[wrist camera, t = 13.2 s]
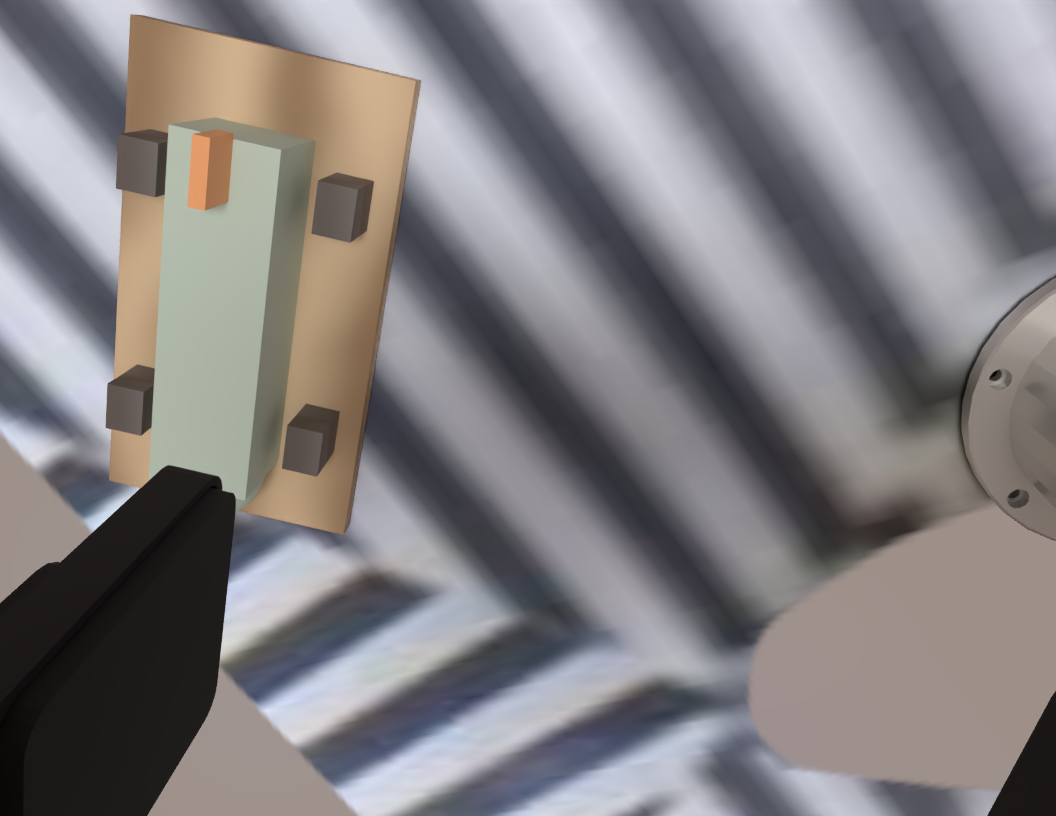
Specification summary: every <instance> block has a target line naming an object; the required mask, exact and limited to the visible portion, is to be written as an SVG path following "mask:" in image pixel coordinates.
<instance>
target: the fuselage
mask: <svg viewBox="0 0 1056 816" xmlns="http://www.w3.org/2000/svg"><path fill="white" fill-rule="evenodd" d="M315 142H316V140H313V139H309V138H304V137H300V136H295V135H291V134H287V133H282V132H278V131H273V130H269V129H264V128H260V127H256V126H251V125H247V124H242V123H238V122H233V121H229V120H225V119H220V118H216V117H214V118H208V119H201V120H195V121H188V122H182V123H175V124H169V128H168V145H167V163H166V180H165V198H164V216H163V233H162V251H161V269H160V286H159V304H158V322H157V339H156V357H155V375H154V392H153V410H152V428H151V445H150V463H149V479H151V478H152V477H153V476H154V475H156V474H157V473H158V472H159V471H160V470H161V469H162V468H164V467H165V466H167V465H172V466H176V467H181V468H185V469H189V470H194V471H198V472H202V473H207V474H211V475H215V476H219V477H220V479H221V481H222V487H223V488H222V491H227V492H231V493H234V495H235V497H236V510H235V512H236V511H238V510H240V509H242V508H243V507H245V506H246V505H248V504H249V503H250V502H251V501H252V500H253V499H254V498H255V497H256V495H257V494H258V492H259V491H260V489H261V487H262V484H263V481H264V478H265V476H266V474H267V473H268V472H269V471H270V469H271V468H272V467H273V466H274V465H275V463H276V462H277V461H278V460H279V452H280V443H281V434H282V426H283V417H284V409H285V400H286V391H287V383H288V374H289V366H290V357H291V348H292V340H293V331H294V323H295V314H296V305H297V297H298V288H299V279H300V271H301V262H302V254H303V245H304V236H305V228H306V219H307V211H308V202H309V193H310V185H311V176H312V168H313V159H314V150H315Z"/></svg>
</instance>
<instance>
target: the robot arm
mask: <svg viewBox="0 0 1056 816" xmlns="http://www.w3.org/2000/svg"><path fill="white" fill-rule="evenodd" d="M996 370H997V374H996V375H995V376H994V377H992V378H989V377H990V376H991V374H992V373H993V372H994V371H996ZM961 430H962V436H963V442H964V448H965V454H966V456H967V458H968V461H969V463H970V466H971V468H972V470H973V473H974V475H975V477H976V479H977V480H978V481H979V483H980V484H981V485H982V487H983V488H984V490H985V491H986V492H987V494H988V495H989V496H990V498H991V499H992V500H993V501H994V502H995V503H996V504H997V505H998V506H999V508H1000V509H1001V510H1002V511H1003V512H1004V513H1006V514H1007V515H1008V516H1010V517H1011V518H1013V519H1014V520H1015V521H1017V522H1018V523H1020V524H1021V525H1022V526H1024V527H1025V528H1027V529H1028V530H1031V531H1033V532H1035V533H1038V534H1040V535H1042V536H1045V537H1047V538H1049V539H1051V540H1055V541H1056V278H1054V279H1052V280H1051V281H1049V282H1048V283H1047V284H1045V285H1044V286H1042V287H1041V288H1040V289H1038V290H1037V291H1035V292H1034V293H1033V294H1031V295H1030V296H1028V297H1027V298H1026V299H1024V300H1023V301H1022V302H1021V303H1020V304H1019V305H1018V306H1017V307H1016V308H1015V309H1014V310H1013V311H1012V312H1011V313H1010V314H1009V315H1008V316H1007V317H1006V318H1005V319H1004V320H1003V321H1002V322H1001V323H1000V325H999V326H998V327H997V329H996V330H995V331H994V333H993V334H992V336H991V337H990V338H989V340H988V341H987V343H986V344H985V345H984V347H983V348H982V350H981V352H980V354H979V357H978V359H977V361H976V363H975V365H974V367H973V369H972V371H971V373H970V376H969V379H968V383H967V387H966V391H965V395H964V398H963V404H962V423H961ZM222 488H223V487H222V481H221V479H220V477H219V476H215V475H211V474H207V473H202V472H198V471H194V470H189V469H185V468H181V467H176V466H172V465H167V466H165V467H164V468H162V469H161V470H160V471H159V472H158V473H157V474H156V475H154V476H153V477H152V478H151V479H150V480H149V481H148V482H147V483H146V484H145V485H144V486H143V487H141V488H140V489H139V490H138V491H137V492H136V493H135V494H134V495H133V496H132V497H131V498H130V499H128V500H127V501H126V502H125V503H124V504H123V505H122V506H121V507H120V508H119V509H118V510H117V511H115V512H114V513H113V514H112V515H111V516H110V517H109V518H108V519H107V520H106V521H105V522H104V523H102V524H101V525H100V526H99V527H98V528H97V529H96V530H95V531H94V532H93V533H92V534H91V535H90V536H88V538H86V539H85V540H84V541H83V542H82V543H81V544H80V545H79V546H78V547H77V548H75V549H74V550H73V551H72V552H71V553H70V554H69V555H68V556H67V557H66V558H65V559H64V560H62V561H61V562H60V563H59V562H54V563H48V564H46V565H45V566H43V567H41V568H40V569H38V570H37V571H36V572H35V573H33V574H32V575H31V576H30V577H29V578H28V579H27V580H26V581H24V582H23V584H21V585H20V586H19V587H18V588H17V589H16V590H14V591H13V592H12V593H11V594H10V595H9V596H8V597H7V598H6V599H5V600H3V601H2V602H1V603H0V816H147V815H148V813H149V811H150V810H151V808H152V807H153V805H154V803H155V802H156V800H157V798H158V797H159V795H160V794H161V792H162V790H163V788H164V787H165V785H166V784H167V782H168V780H169V779H170V777H171V775H172V774H173V772H174V770H175V769H176V767H177V766H178V764H179V762H180V761H181V759H182V757H183V756H184V754H185V752H186V751H187V749H188V747H189V746H190V744H191V742H192V741H193V739H194V737H195V736H196V734H197V733H198V731H199V729H200V728H201V726H202V724H203V723H204V721H205V719H206V717H207V715H208V713H209V711H210V708H211V706H212V702H213V700H214V696H215V692H216V687H217V679H218V671H219V661H220V652H221V642H222V633H223V623H224V614H225V605H226V595H227V586H228V576H229V567H230V557H231V548H232V539H233V529H234V520H235V510H236V497H235V495H234V493H231V492H227V491H222ZM1012 491H1013V492H1012ZM1011 492H1012V493H1011ZM988 816H1056V692H1055V693H1054V694H1053V696H1052V697H1051V699H1050V701H1049V703H1048V705H1047V707H1046V708H1045V710H1044V712H1043V714H1042V716H1041V718H1040V719H1039V721H1038V723H1037V725H1036V727H1035V729H1034V731H1033V733H1032V734H1031V736H1030V738H1029V740H1028V742H1027V743H1026V745H1025V747H1024V749H1023V751H1022V753H1021V755H1020V757H1019V758H1018V760H1017V762H1016V764H1015V766H1014V767H1013V769H1012V771H1011V773H1010V775H1009V777H1008V779H1007V781H1006V782H1005V784H1004V786H1003V788H1002V790H1001V792H1000V793H999V795H998V797H997V799H996V801H995V803H994V805H993V806H992V808H991V810H990V812H989V814H988Z"/></svg>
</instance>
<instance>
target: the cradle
mask: <svg viewBox="0 0 1056 816" xmlns="http://www.w3.org/2000/svg"><path fill="white" fill-rule="evenodd" d="M420 83H421V80H417V79H413V78H409V77H405V76H400V75H396V74H392V73H387V72H383V71H379V70H375V69H370V68H366V67H362V66H357V65H353V64H349V63H345V62H340V61H336V60H332V59H327V58H323V57H319V56H314V55H310V54H306V53H302V52H297V51H293V50H289V49H284V48H280V47H276V46H272V45H267V44H263V43H259V42H254V41H250V40H246V39H242V38H237V37H233V36H229V35H224V34H220V33H216V32H212V31H207V30H203V29H199V28H194V27H190V26H186V25H181V24H177V23H173V22H169V21H164V20H160V19H156V18H151V17H147V16H142V15H130V37H129V59H128V81H127V103H126V125H125V133H122V134H118V155H117V178H116V188H117V189H121V190H122V212H121V234H120V256H119V278H118V299H117V321H116V343H115V365H114V380H113V381H111V382H110V383H108V387H107V411H106V428H109V429H112V431H111V452H110V474H109V481H114V482H118V483H122V484H126V485H131V486H135V487H139V488H141V487H143V486H144V485H145V484H146V483H147V482H148V481H149V480H150V479H149V463H150V445H151V428H152V410H153V392H154V375H155V357H156V339H157V322H158V304H159V286H160V269H161V251H162V233H163V216H164V198H165V180H166V163H167V145H168V128H169V124H175V123H182V122H188V121H195V120H201V119H208V118H214V117H216V118H220V119H225V120H229V121H233V122H238V123H242V124H247V125H251V126H256V127H260V128H264V129H269V130H273V131H278V132H282V133H287V134H291V135H295V136H300V137H304V138H309V139H313V140H316V142H315V150H314V159H313V168H312V176H311V185H310V193H309V202H308V211H307V219H306V228H305V236H304V245H303V254H302V262H301V271H300V279H299V288H298V297H297V305H296V314H295V323H294V331H293V340H292V348H291V357H290V366H289V374H288V383H287V391H286V400H285V409H284V417H283V426H282V434H281V443H280V452H279V460H278V461H277V462H276V463H275V465H274V466H273V467H272V468H271V469H270V471H269V472H268V473H267V474H266V476H265V478H264V481H263V484H262V487H261V489H260V491H259V492H258V494H257V495H256V497H255V498H254V499H253V500H252V501H251V502H250V503H249V504H248V505H246V506H245V507H243V508H242V509H240V510H239V511H243V512H247V513H252V514H256V515H260V516H265V517H269V518H273V519H277V520H282V521H286V522H290V523H295V524H299V525H303V526H308V527H312V528H316V529H321V530H325V531H329V532H334V533H338V534H342V535H344V533H345V531H346V530H347V528H348V526H349V524H350V518H351V511H352V505H353V499H354V493H355V487H356V480H357V474H358V468H359V462H360V456H361V449H362V443H363V437H364V431H365V424H366V418H367V412H368V406H369V400H370V393H371V387H372V381H373V375H374V369H375V362H376V356H377V350H378V344H379V338H380V331H381V325H382V319H383V313H384V307H385V300H386V294H387V288H388V282H389V276H390V269H391V263H392V257H393V251H394V244H395V238H396V232H397V226H398V220H399V213H400V207H401V201H402V195H403V189H404V182H405V176H406V170H407V164H408V158H409V151H410V145H411V139H412V133H413V127H414V120H415V114H416V108H417V102H418V96H419V89H420Z"/></svg>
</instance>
